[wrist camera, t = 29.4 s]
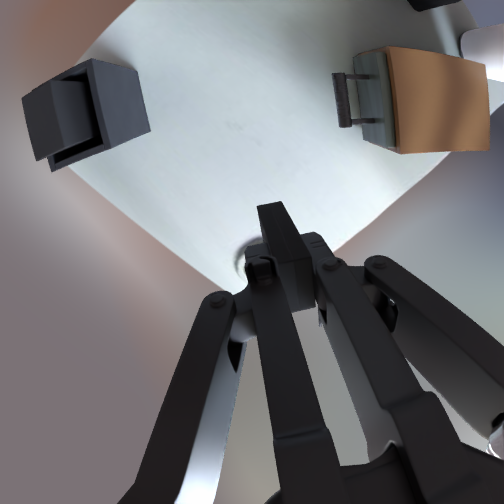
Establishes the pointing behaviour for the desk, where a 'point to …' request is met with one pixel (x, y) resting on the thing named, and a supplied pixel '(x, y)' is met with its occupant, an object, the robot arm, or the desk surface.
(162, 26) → the desk surface
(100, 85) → the caddy
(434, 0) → the electronic device
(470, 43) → the cup
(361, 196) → the desk surface
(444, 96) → the cabinet
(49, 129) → the block
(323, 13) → the desk surface
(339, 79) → the drawer
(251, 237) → the desk surface
